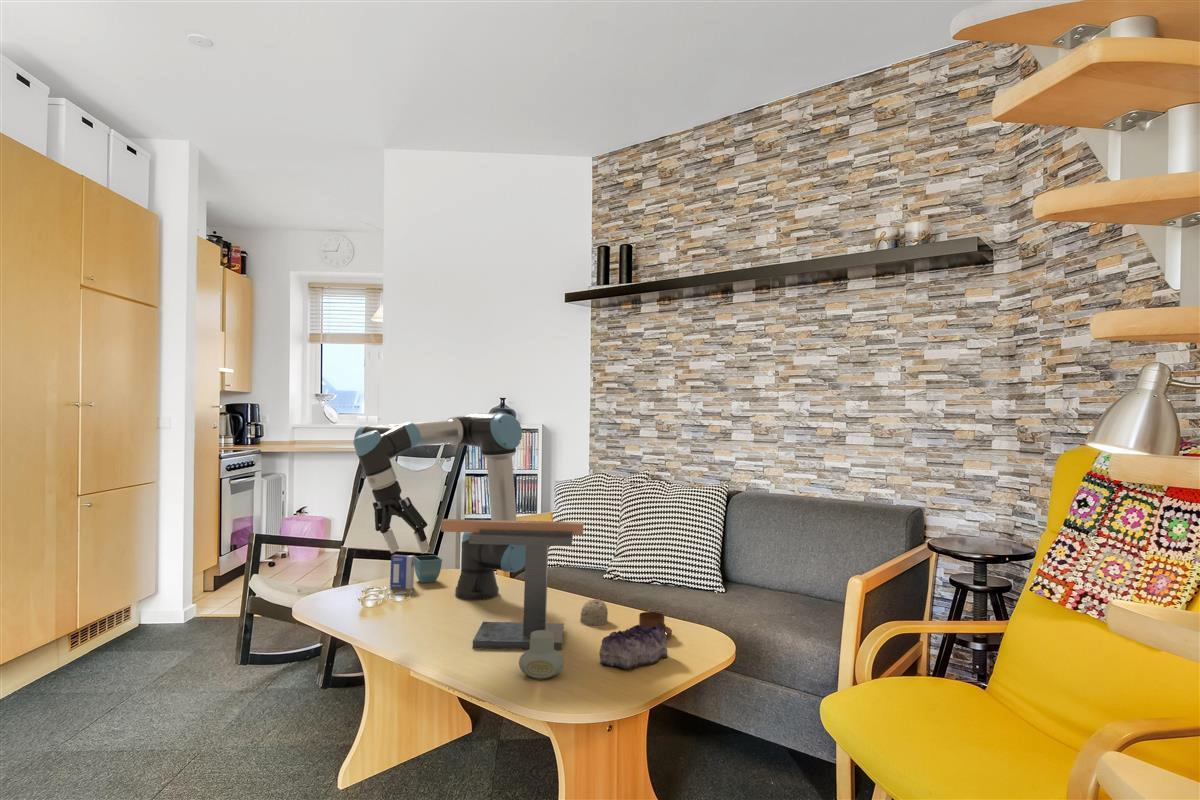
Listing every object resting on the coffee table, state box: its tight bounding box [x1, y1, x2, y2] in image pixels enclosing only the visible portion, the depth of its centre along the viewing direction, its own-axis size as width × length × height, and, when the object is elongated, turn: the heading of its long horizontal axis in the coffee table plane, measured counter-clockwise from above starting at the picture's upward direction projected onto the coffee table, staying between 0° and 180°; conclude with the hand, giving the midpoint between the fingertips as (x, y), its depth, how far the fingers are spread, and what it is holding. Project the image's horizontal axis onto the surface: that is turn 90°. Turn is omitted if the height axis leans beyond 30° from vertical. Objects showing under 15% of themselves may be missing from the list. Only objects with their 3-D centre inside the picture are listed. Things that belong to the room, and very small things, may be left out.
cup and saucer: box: [637, 611, 673, 638], centre depth 199 cm, size 12×12×6 cm
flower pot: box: [414, 554, 443, 584], centre depth 259 cm, size 9×9×9 cm
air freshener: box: [518, 630, 565, 680], centre depth 165 cm, size 11×8×10 cm
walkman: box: [389, 554, 416, 590], centre depth 248 cm, size 8×3×12 cm, turn 86°
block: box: [440, 518, 584, 536], centre depth 194 cm, size 40×4×3 cm, turn 91°
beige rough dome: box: [579, 598, 608, 627], centre depth 211 cm, size 9×9×9 cm
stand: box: [469, 529, 574, 651], centre depth 193 cm, size 28×18×31 cm, turn 91°
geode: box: [598, 624, 668, 670], centre depth 177 cm, size 20×12×10 cm, turn 131°
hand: (410, 551), depth 197 cm, fingers open, 13 cm apart
